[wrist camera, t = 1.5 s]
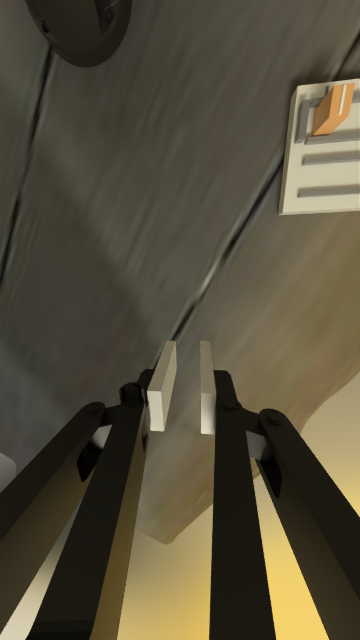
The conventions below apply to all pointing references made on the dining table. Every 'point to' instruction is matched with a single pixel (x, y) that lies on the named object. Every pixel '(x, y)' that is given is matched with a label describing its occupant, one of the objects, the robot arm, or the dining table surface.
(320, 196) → the fader panel
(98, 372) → the dining table surface
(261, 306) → the dining table surface
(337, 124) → the fader knob
